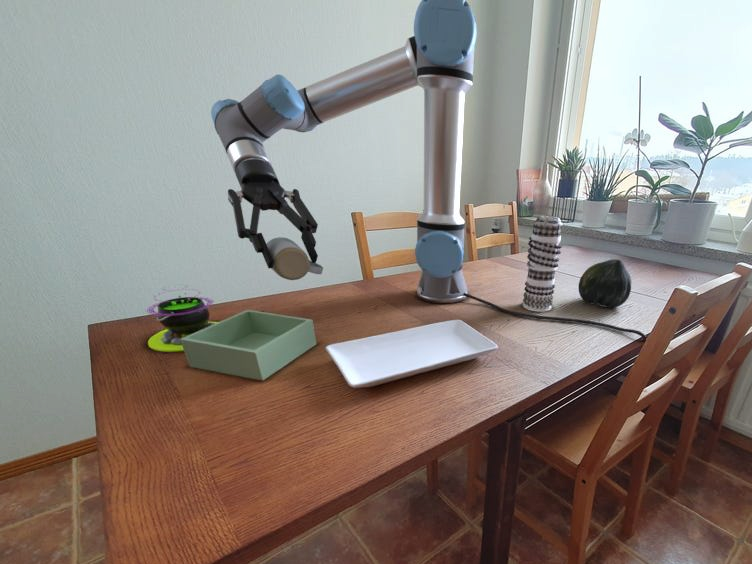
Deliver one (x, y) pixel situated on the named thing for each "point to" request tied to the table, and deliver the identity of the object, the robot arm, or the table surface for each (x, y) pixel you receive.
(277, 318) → the bin
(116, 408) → the table surface
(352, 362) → the tray
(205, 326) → the toy cauldron
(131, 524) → the table surface
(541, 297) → the decorative candle
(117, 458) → the table surface
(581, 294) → the squash
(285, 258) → the ceramic mug
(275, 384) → the table surface
